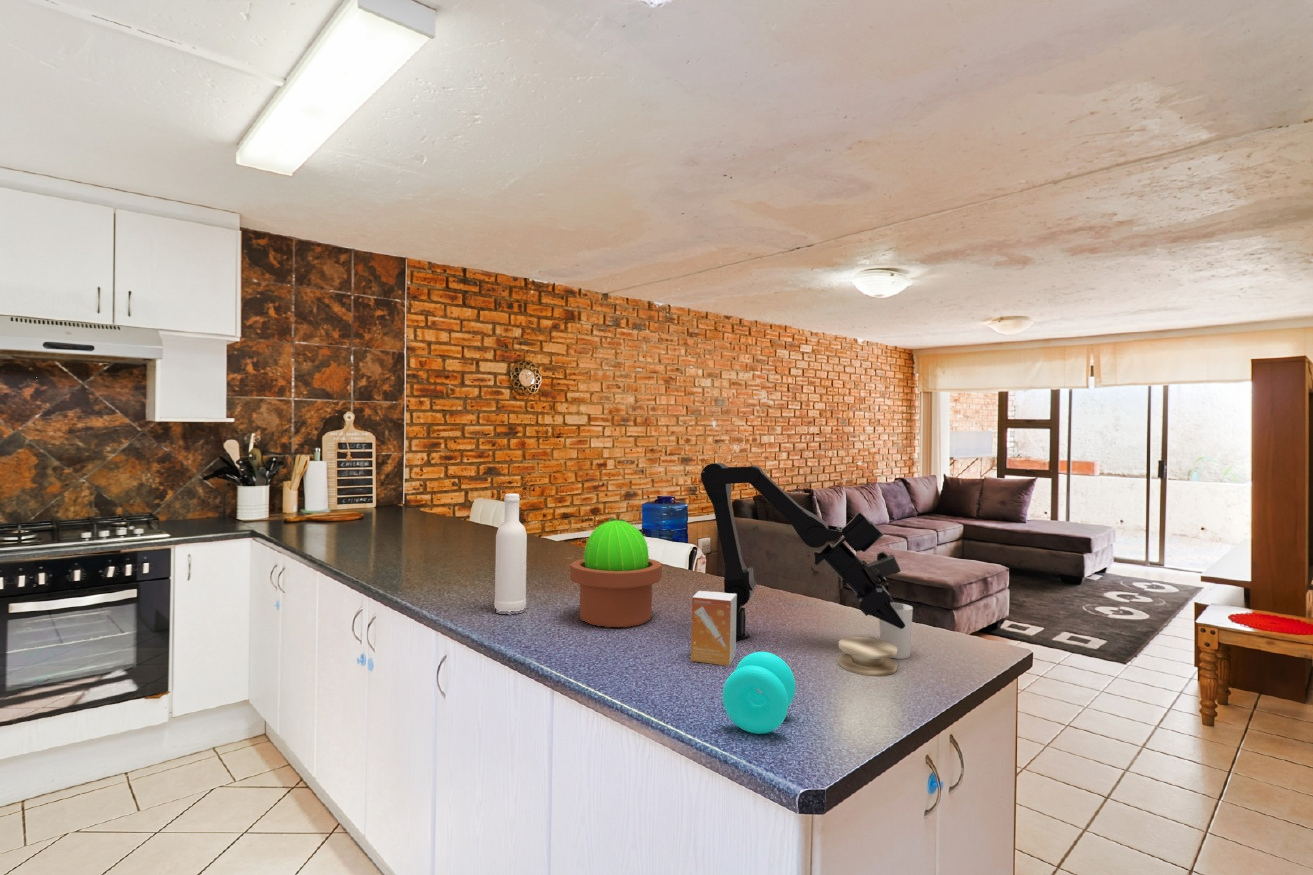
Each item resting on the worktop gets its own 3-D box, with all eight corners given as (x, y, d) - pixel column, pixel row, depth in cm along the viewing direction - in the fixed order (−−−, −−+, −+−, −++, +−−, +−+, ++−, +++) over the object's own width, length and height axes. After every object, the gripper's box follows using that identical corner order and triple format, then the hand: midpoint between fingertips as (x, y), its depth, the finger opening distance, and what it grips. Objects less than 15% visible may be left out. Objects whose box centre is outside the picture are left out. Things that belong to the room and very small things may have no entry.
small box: (690, 661, 128) (691, 596, 128) (697, 652, 134) (698, 589, 134) (730, 666, 125) (731, 600, 126) (736, 656, 131) (737, 592, 132)
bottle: (501, 606, 168) (503, 492, 169) (530, 608, 167) (532, 493, 168) (489, 614, 160) (491, 494, 161) (519, 616, 159) (521, 495, 160)
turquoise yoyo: (720, 730, 97) (720, 664, 98) (735, 705, 107) (736, 645, 107) (786, 742, 94) (786, 674, 94) (796, 715, 103) (797, 653, 103)
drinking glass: (878, 656, 132) (878, 608, 133) (878, 647, 139) (879, 601, 139) (912, 661, 130) (913, 611, 130) (911, 651, 136) (912, 604, 136)
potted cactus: (627, 637, 144) (629, 525, 144) (552, 621, 155) (554, 518, 155) (676, 615, 162) (677, 516, 162) (606, 602, 174) (607, 510, 174)
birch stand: (878, 679, 119) (878, 658, 119) (827, 664, 128) (827, 643, 128) (907, 666, 127) (907, 646, 127) (857, 652, 135) (857, 633, 135)
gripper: (877, 548, 127) (937, 609, 123) (875, 535, 145) (927, 588, 141) (836, 584, 129) (893, 645, 126) (838, 568, 147) (889, 620, 144)
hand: (902, 623), depth 134 cm, fingers closed on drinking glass, 6 cm apart
